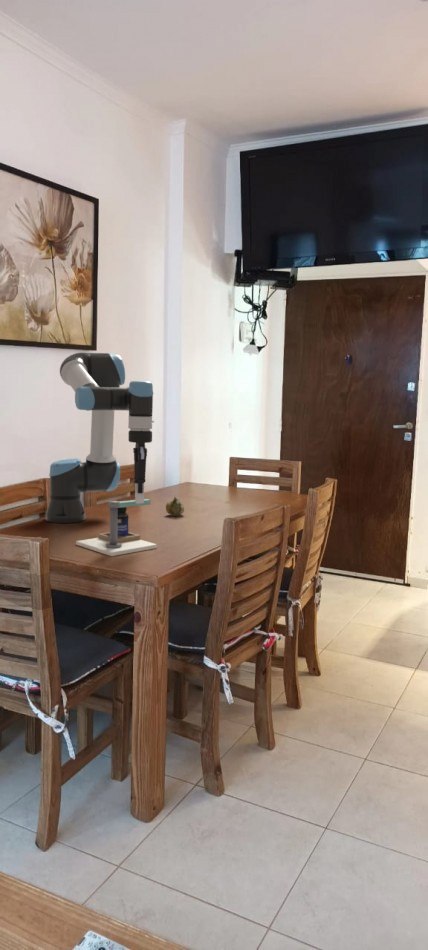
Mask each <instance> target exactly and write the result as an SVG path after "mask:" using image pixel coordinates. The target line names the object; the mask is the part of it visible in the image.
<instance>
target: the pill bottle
mask: <svg viewBox="0 0 428 950" xmlns="http://www.w3.org/2000/svg"><path fill="white" fill-rule="evenodd" d="M127 509H128V507H120V508H118V533H117V538H121V537H127V536H128V532H129V513H127Z"/></svg>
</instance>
